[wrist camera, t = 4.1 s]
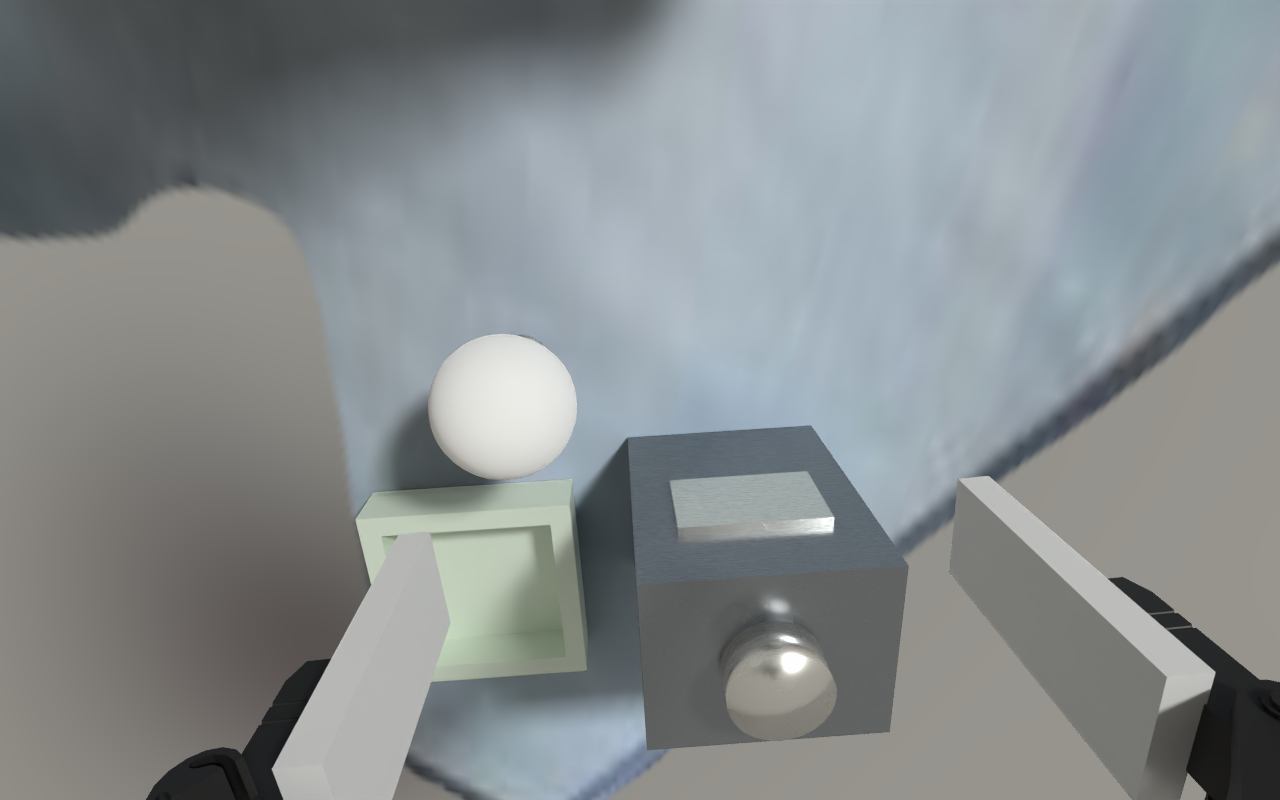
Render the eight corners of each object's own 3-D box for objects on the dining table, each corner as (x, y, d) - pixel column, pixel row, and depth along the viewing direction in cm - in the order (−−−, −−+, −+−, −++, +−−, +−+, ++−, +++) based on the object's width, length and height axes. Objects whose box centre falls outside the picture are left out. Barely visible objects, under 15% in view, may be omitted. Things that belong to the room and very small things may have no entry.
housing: (626, 431, 40) (637, 609, 25) (811, 419, 40) (932, 588, 25) (635, 564, 43) (649, 790, 28) (805, 552, 43) (907, 770, 28)
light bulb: (557, 426, 39) (538, 528, 29) (447, 384, 38) (389, 475, 28) (601, 325, 37) (599, 398, 27) (487, 277, 36) (439, 334, 26)
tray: (373, 492, 40) (355, 519, 37) (572, 478, 41) (569, 505, 38) (409, 649, 45) (395, 684, 42) (588, 636, 45) (586, 670, 42)
